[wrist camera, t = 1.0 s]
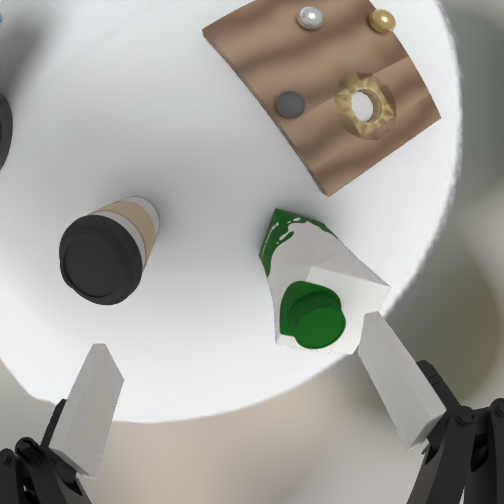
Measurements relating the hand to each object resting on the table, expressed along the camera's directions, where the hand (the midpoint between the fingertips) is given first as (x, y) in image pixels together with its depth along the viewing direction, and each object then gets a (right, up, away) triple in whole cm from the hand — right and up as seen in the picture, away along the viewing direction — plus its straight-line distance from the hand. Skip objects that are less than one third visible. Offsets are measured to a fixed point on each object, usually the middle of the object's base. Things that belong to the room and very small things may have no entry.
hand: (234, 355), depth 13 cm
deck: (+11, +28, +16) cm, 35 cm away
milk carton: (+6, +7, +25) cm, 27 cm away
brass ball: (+17, +34, +10) cm, 39 cm away
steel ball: (+8, +32, +10) cm, 34 cm away
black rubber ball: (+5, +21, +15) cm, 26 cm away
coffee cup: (-15, +9, +23) cm, 28 cm away
